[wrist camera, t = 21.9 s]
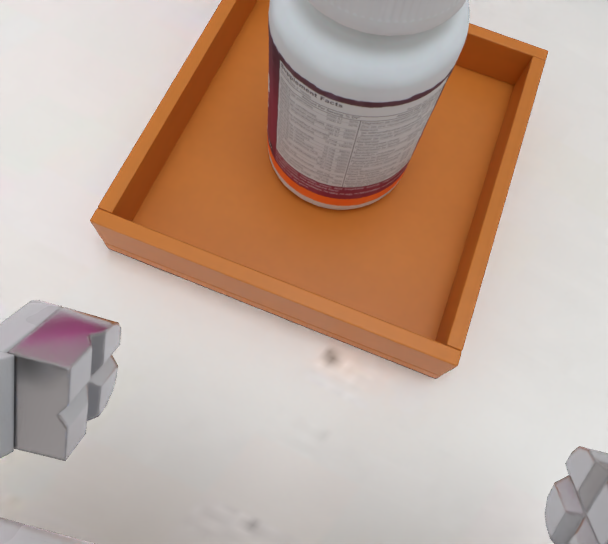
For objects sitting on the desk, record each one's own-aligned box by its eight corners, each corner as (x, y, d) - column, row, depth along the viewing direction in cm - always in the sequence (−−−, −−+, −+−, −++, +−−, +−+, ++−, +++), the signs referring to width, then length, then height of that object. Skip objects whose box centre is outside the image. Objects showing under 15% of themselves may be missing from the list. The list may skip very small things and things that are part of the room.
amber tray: (436, 379, 22) (458, 366, 19) (107, 248, 23) (88, 220, 20) (523, 88, 27) (548, 50, 25) (254, -7, 28) (253, -54, 25)
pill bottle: (305, 74, 26) (335, -211, 15) (427, 129, 25) (548, -127, 14) (241, 176, 23) (223, -72, 13) (372, 239, 23) (465, 33, 12)
